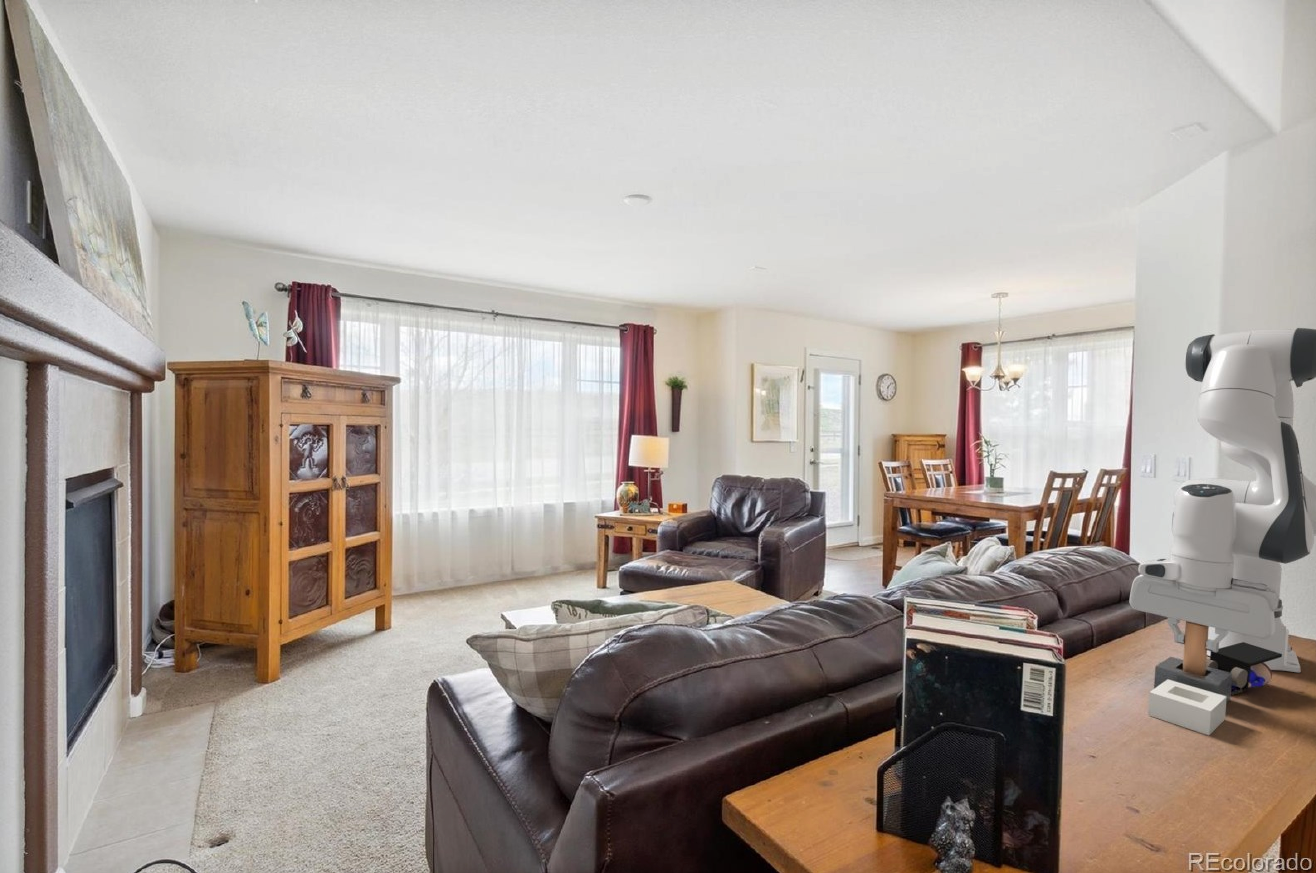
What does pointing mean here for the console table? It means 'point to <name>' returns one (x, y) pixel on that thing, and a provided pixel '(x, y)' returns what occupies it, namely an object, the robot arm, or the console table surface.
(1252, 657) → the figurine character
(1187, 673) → the block
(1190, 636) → the pin
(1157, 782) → the console table surface
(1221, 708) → the socket block
